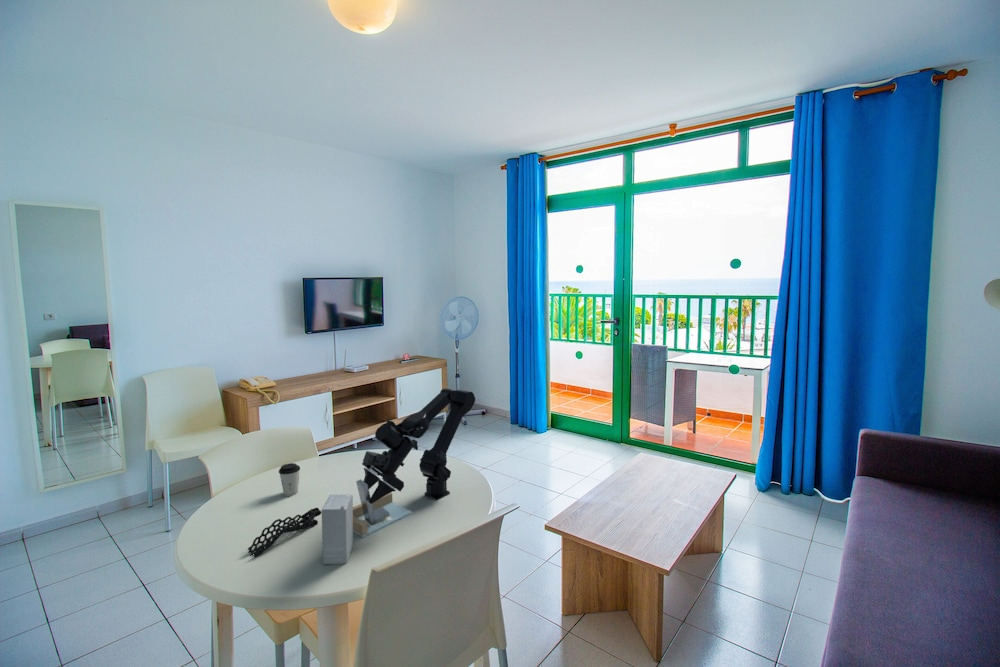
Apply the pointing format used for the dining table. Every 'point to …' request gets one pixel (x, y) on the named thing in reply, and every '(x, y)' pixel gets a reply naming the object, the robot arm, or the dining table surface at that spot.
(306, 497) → the dining table surface
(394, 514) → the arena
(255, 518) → the dining table surface
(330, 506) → the skincare box
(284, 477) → the coffee cup
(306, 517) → the decorative element
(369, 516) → the grey tall post
